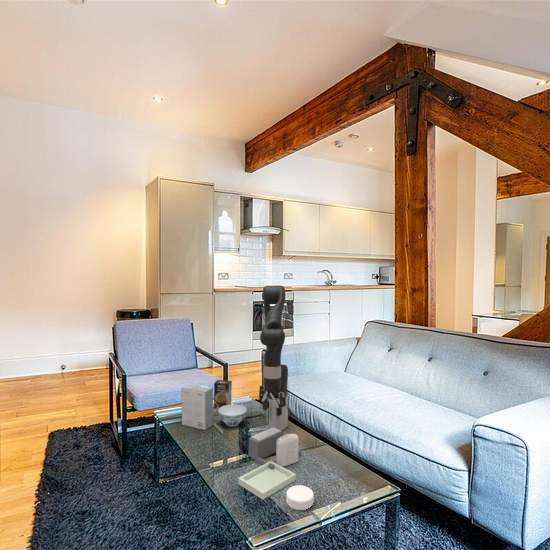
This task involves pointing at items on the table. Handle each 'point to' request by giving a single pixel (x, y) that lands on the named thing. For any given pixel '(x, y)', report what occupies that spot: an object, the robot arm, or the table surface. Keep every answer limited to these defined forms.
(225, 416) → the chinaware
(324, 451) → the table surface
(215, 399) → the coffee box
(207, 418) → the hard drive box
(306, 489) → the white round puck
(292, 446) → the photo printer
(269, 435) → the dock
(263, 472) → the tray
